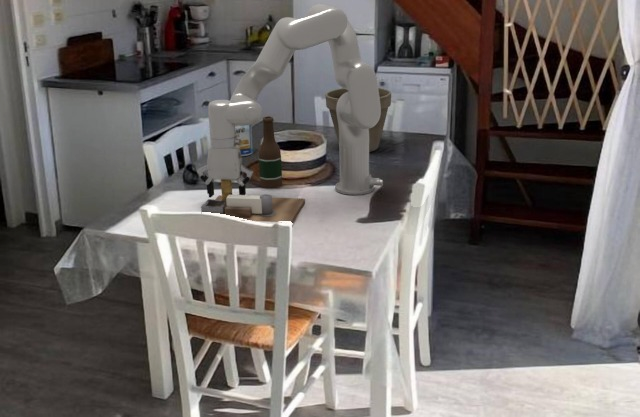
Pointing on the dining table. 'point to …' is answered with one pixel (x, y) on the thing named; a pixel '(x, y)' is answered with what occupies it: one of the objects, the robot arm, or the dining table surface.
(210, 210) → the collar
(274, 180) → the beer bottle
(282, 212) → the board
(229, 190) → the pin
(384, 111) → the plant pot
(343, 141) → the robot arm
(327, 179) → the dining table surface
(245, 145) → the beverage bottle
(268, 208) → the handle
